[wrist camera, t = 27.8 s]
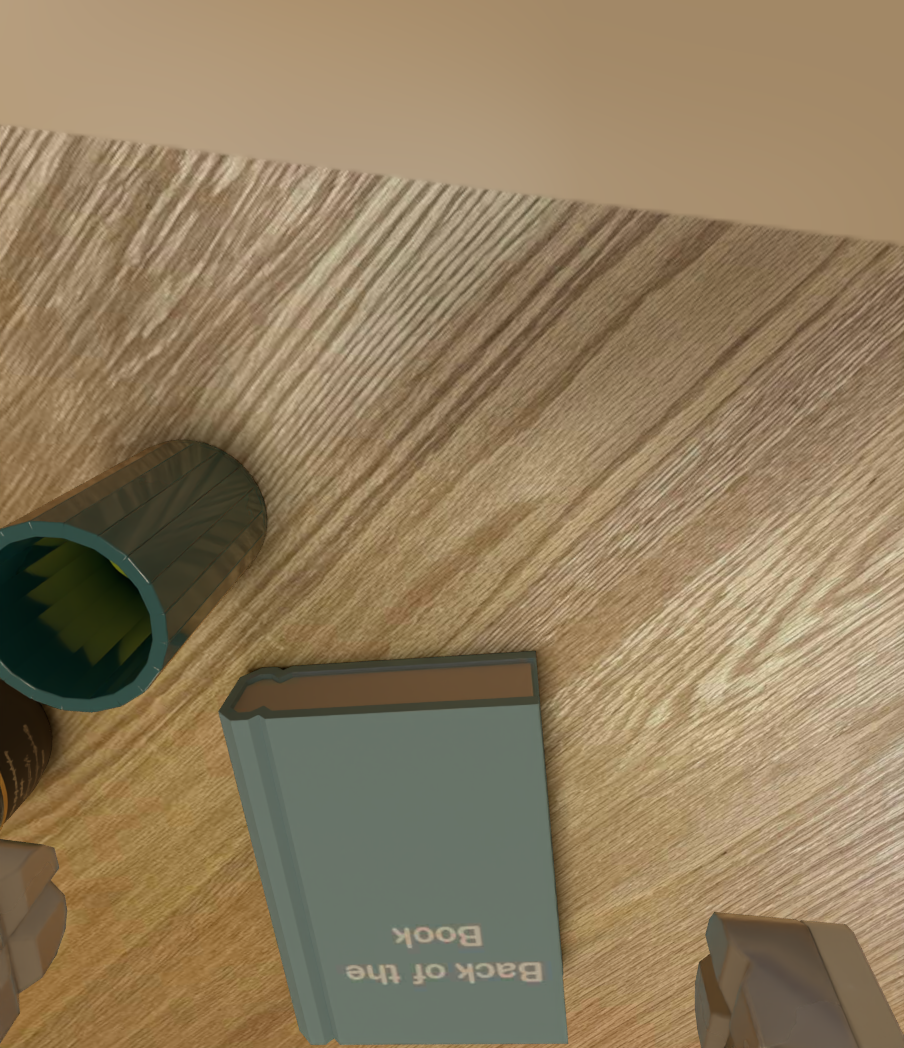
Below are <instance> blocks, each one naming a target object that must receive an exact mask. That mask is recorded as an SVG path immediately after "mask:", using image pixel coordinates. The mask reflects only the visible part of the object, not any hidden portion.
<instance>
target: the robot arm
mask: <svg viewBox="0 0 904 1048" xmlns="http://www.w3.org/2000/svg"><path fill="white" fill-rule="evenodd" d="M58 869H59V865H58V861H57V857H56V853H55V849H54V847H50V846H46V845H42V844H34V843H26V842H19V841H11V840H3V839H0V1043H1V1041H2V1040H3V1038H4V1037H5V1035H6V1034H7V1032H8V1030H9V1029H10V1027H11V1026H12V1024H13V1023H14V1021H15V1020H16V1018H17V1017H18V1015H19V1013H20V1009H19V993H20V992H22V991H23V990H25V989H26V988H28V987H29V986H31V985H32V984H34V983H35V982H37V981H38V980H39V979H41V978H42V977H43V976H44V974H45V973H46V971H47V969H48V968H49V966H50V964H51V963H52V961H53V959H54V958H55V956H56V954H57V952H58V949H59V946H60V943H61V940H62V937H63V935H64V932H65V929H66V917H67V906H66V901H65V895H64V894H63V893H62V892H61V891H60V890H59V889H58V888H57V887H56V885H55V884H54V883H53V882H52V881H51V879H52V877H53V876H54V875H55V873H56V872H57V870H58ZM706 939H707V943H708V947H709V951H710V954H709V955H708V956H707V957H705V958H704V959H703V960H701V961H700V962H699V966H698V971H697V976H696V981H695V1013H696V1021H697V1029H698V1034H699V1039H700V1043H701V1048H904V1035H903V1033H902V1031H901V1029H900V1027H899V1024H898V1022H897V1020H896V1018H895V1016H894V1014H893V1012H892V1010H891V1008H890V1006H889V1004H888V1002H887V1000H886V998H885V996H884V994H883V992H882V989H881V987H880V985H879V983H878V981H877V979H876V977H875V975H874V973H873V971H872V969H871V967H870V965H869V963H868V961H867V959H866V957H865V954H864V952H863V950H862V948H861V946H860V944H859V942H858V940H857V938H856V936H855V934H854V932H853V931H852V930H851V929H850V928H849V927H848V926H847V925H846V924H835V923H825V922H815V921H804V920H801V921H798V920H796V919H787V918H776V917H765V916H753V915H742V914H731V913H720V912H714V913H713V915H712V916H711V918H710V919H709V923H708V927H707V931H706Z"/></svg>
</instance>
